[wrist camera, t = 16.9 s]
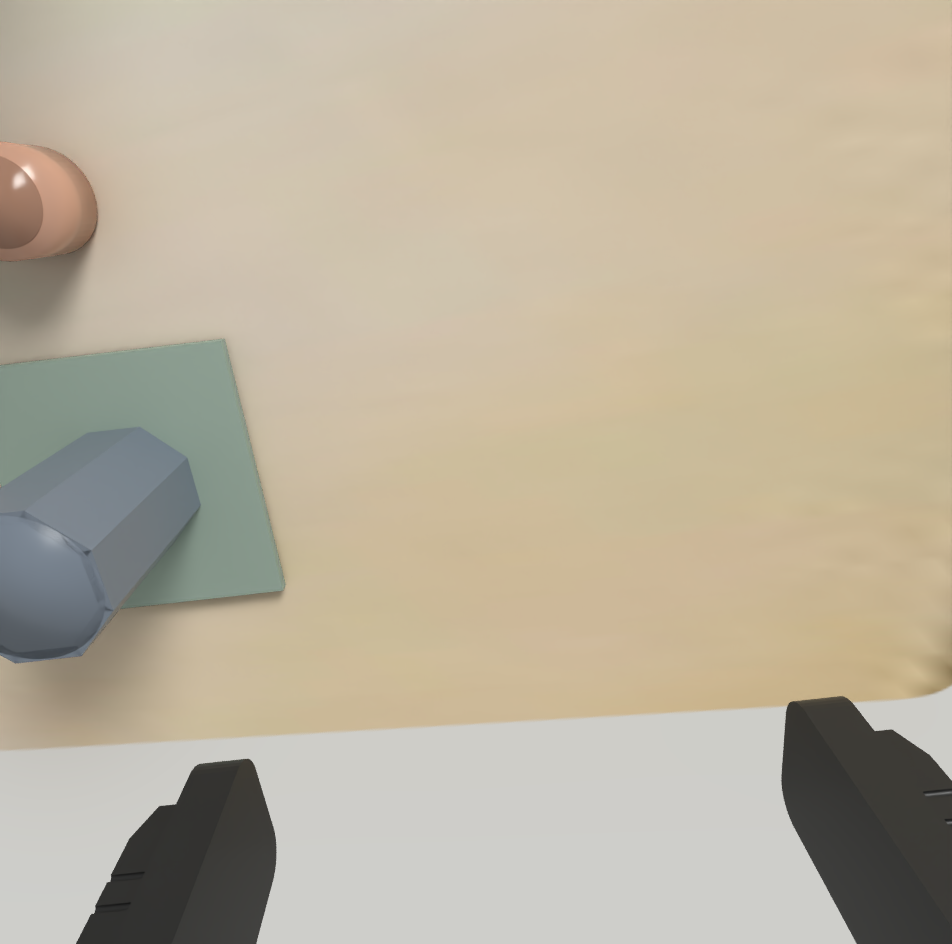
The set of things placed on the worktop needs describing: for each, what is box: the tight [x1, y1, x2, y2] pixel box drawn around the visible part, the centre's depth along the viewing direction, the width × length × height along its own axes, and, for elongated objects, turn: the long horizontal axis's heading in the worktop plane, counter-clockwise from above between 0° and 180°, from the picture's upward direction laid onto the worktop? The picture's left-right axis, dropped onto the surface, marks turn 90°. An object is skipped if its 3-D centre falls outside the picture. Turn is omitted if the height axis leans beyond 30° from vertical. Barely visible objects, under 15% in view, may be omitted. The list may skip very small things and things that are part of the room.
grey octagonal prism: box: [0, 427, 201, 663], centre depth 31 cm, size 6×6×10 cm
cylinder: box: [0, 142, 97, 261], centre depth 29 cm, size 5×5×4 cm
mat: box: [0, 339, 286, 609], centre depth 36 cm, size 14×13×1 cm
